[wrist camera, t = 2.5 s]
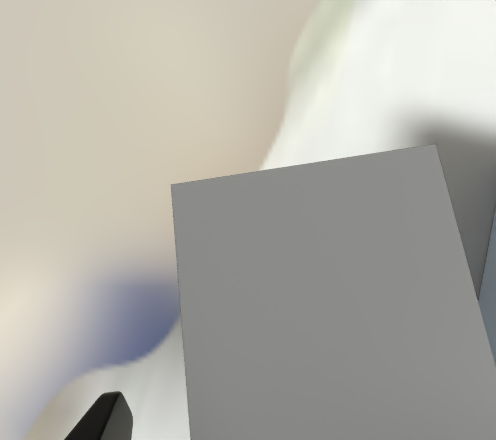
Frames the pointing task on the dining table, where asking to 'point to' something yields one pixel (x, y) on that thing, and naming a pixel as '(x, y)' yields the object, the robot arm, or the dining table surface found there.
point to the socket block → (490, 291)
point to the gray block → (331, 304)
